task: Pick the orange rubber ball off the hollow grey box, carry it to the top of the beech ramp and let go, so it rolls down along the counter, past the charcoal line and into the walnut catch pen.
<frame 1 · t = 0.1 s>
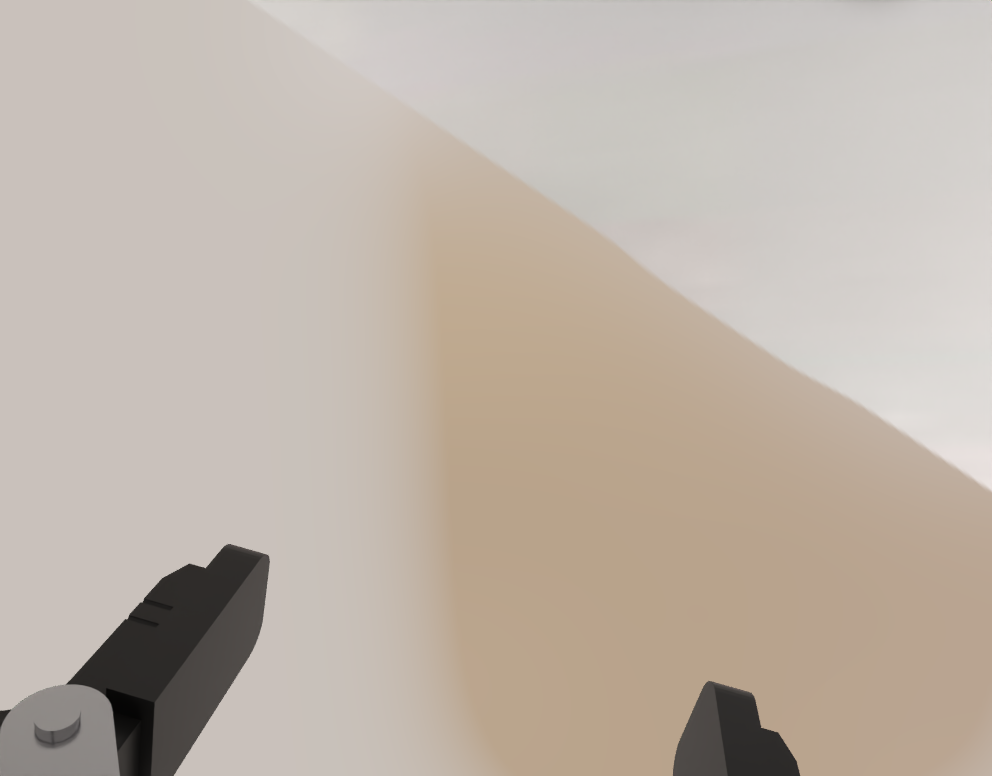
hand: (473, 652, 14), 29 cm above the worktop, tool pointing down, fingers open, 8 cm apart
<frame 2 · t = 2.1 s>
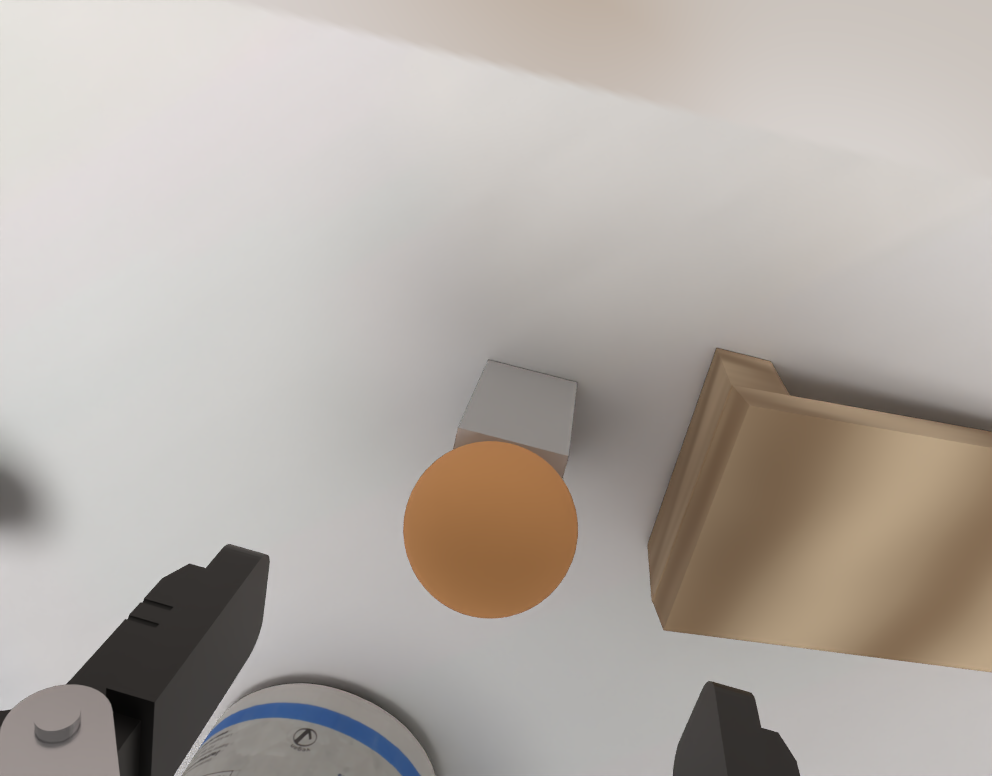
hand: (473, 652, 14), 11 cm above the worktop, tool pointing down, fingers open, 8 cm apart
ball: (502, 485, 20), point 5 cm above the worktop, touching hollow grey box
supplement tub: (327, 760, 31), on the worktop
ramp: (905, 509, 23), on the worktop
hollow grey box: (522, 411, 24), on the worktop
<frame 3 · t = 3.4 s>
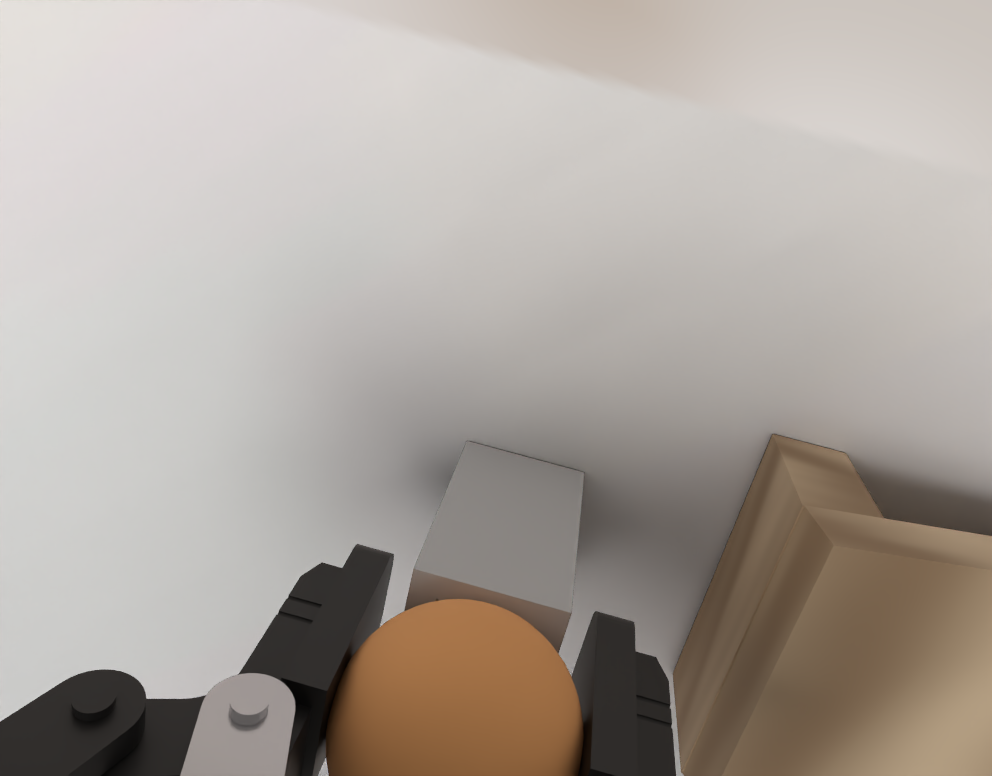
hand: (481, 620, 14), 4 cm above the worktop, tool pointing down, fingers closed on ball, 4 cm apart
ball: (477, 644, 14), point 5 cm above the worktop, touching gripper, hollow grey box
hollow grey box: (511, 506, 18), on the worktop
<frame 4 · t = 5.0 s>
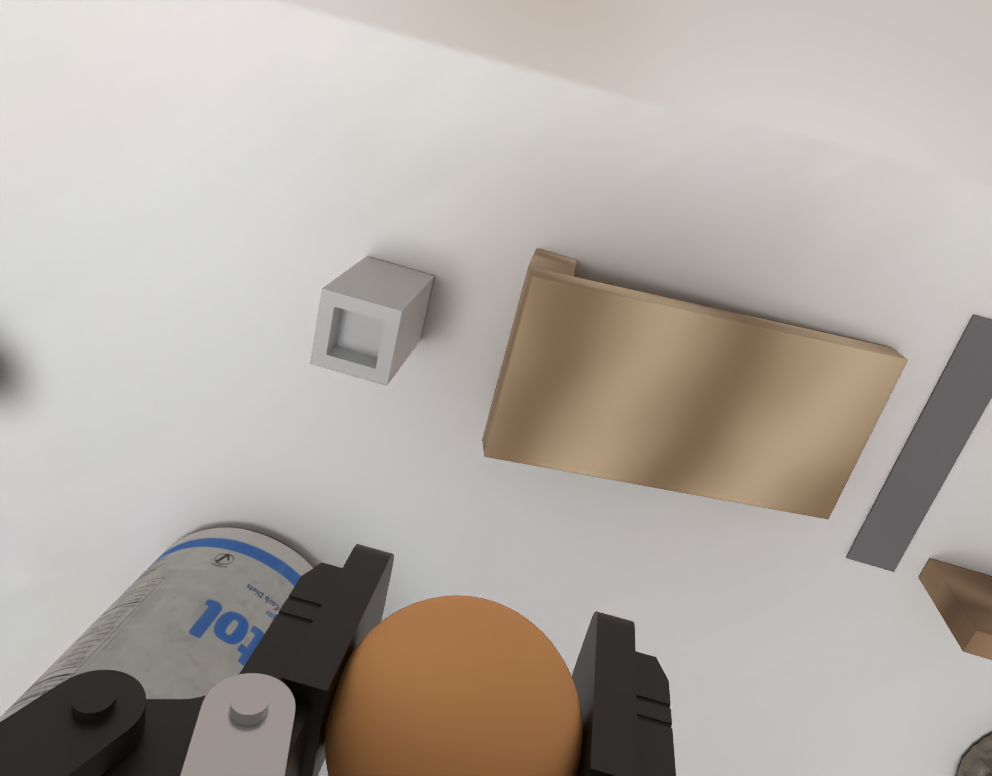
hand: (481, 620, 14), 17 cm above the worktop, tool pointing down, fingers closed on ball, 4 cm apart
ball: (476, 641, 14), point 18 cm above the worktop, touching gripper
supplement tub: (250, 598, 38), on the worktop
throw line: (930, 451, 30), on the worktop
ramp: (684, 380, 30), on the worktop
hollow grey box: (393, 299, 31), on the worktop
when the fingers open (5 cm above the worktop, at t = 6.9 s): ball drops 2 cm and tips over, resting on ramp.
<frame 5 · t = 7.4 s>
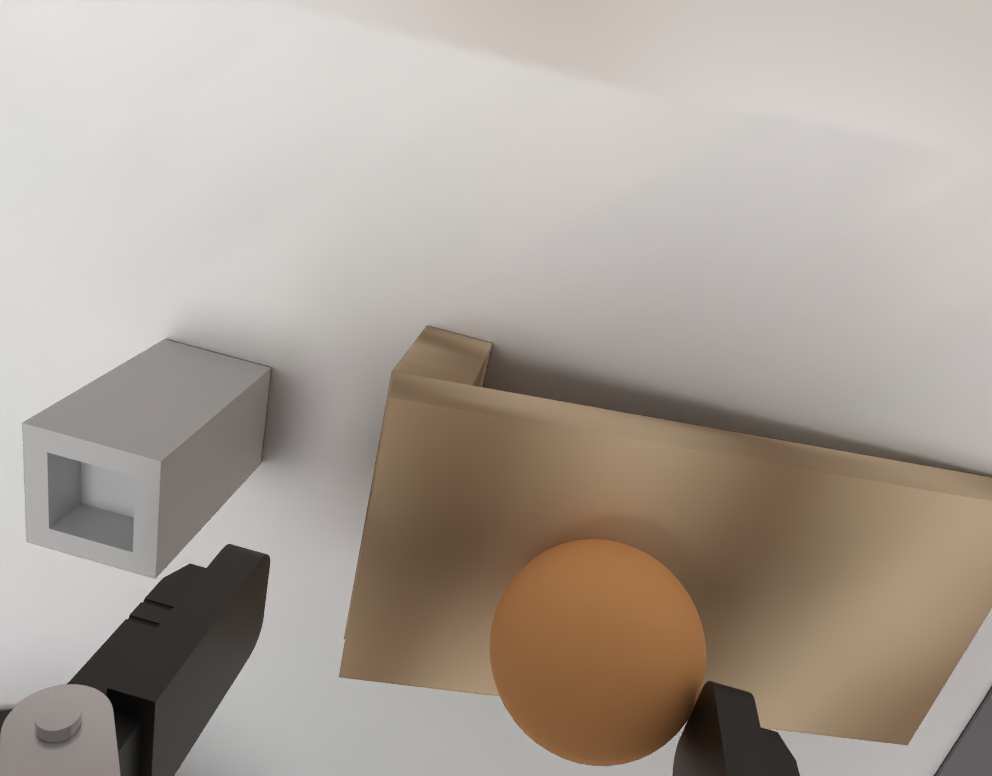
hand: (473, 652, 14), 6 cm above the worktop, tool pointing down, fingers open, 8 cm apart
ball: (511, 591, 15), point 4 cm above the worktop, tilted 62°, touching gripper, ramp
ramp: (672, 527, 19), on the worktop
hollow grey box: (213, 402, 20), on the worktop
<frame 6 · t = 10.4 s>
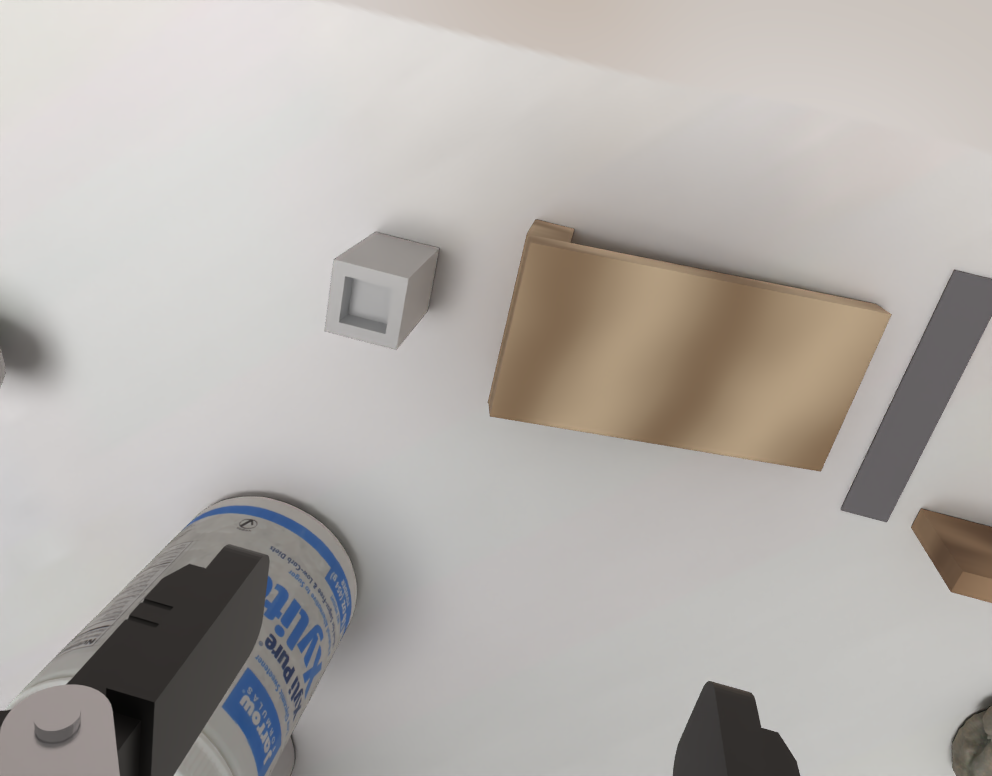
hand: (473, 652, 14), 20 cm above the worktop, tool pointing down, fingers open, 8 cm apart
supplement tub: (274, 565, 40), on the worktop
throw line: (917, 404, 31), on the worktop
ramp: (679, 342, 32), on the worktop
hollow grey box: (401, 271, 33), on the worktop
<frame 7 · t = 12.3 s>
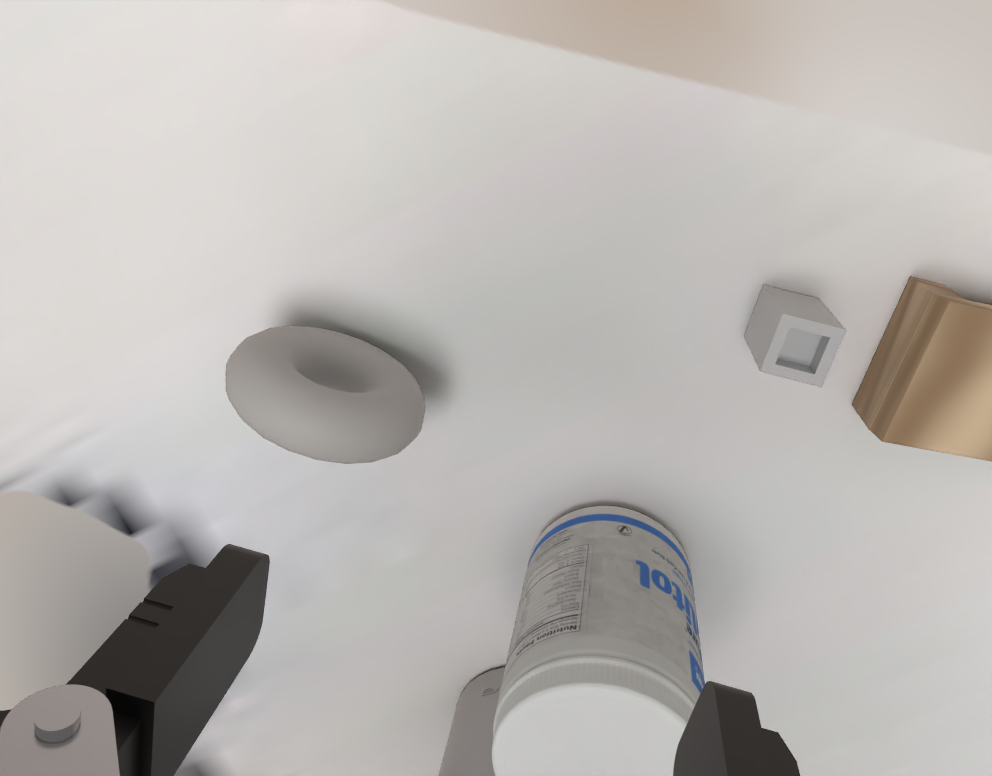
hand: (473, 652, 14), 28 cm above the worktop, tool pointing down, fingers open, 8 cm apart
supplement tub: (606, 565, 46), on the worktop
donut: (360, 355, 43), on the worktop
hollow grey box: (780, 317, 39), on the worktop
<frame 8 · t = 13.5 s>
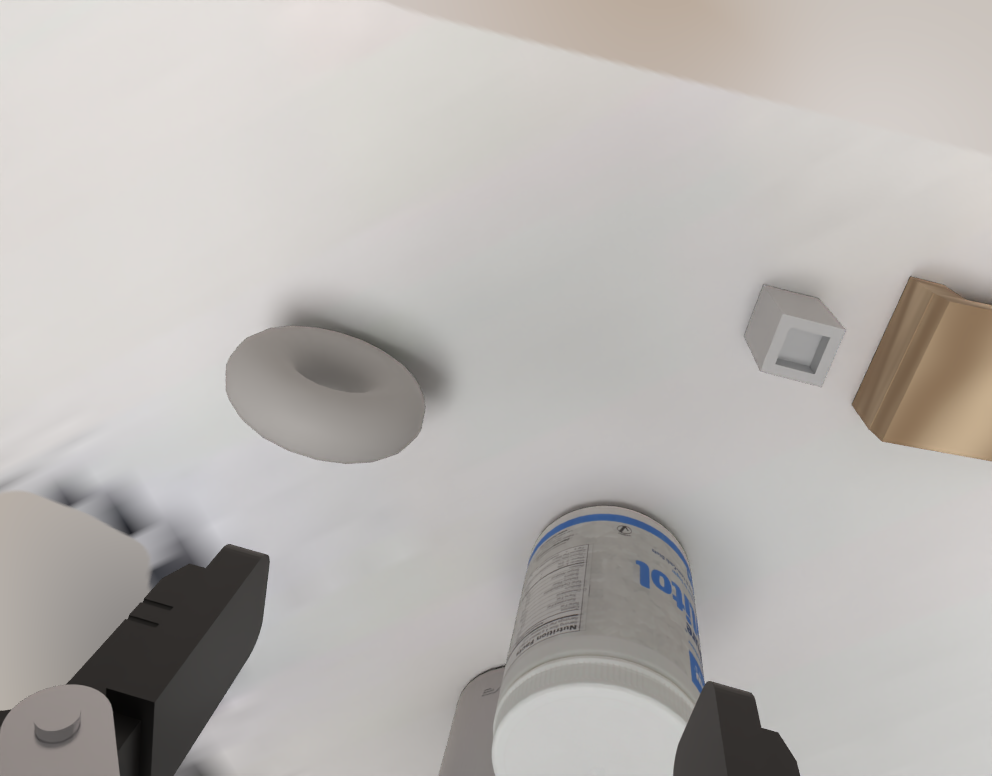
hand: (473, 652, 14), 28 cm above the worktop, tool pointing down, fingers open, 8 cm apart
supplement tub: (606, 565, 46), on the worktop
donut: (361, 355, 43), on the worktop
hollow grey box: (780, 317, 39), on the worktop
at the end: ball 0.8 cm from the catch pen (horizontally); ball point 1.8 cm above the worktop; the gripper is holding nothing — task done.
